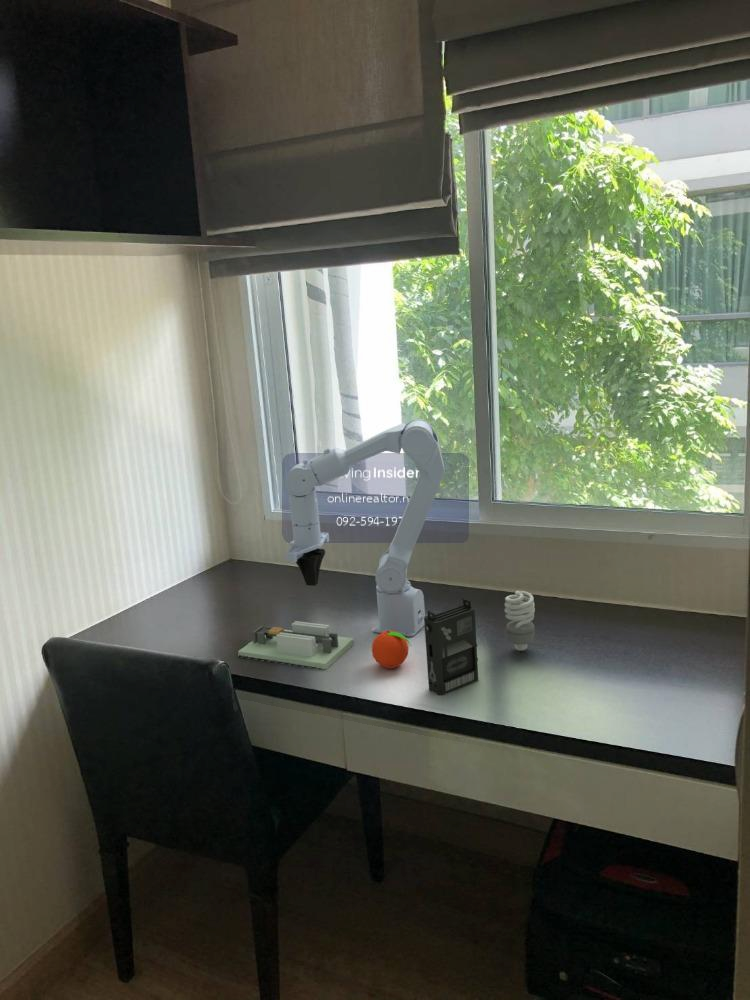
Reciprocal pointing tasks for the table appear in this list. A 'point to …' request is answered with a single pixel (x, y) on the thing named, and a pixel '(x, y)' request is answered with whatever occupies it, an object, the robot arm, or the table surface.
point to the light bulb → (520, 619)
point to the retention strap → (277, 630)
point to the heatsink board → (298, 645)
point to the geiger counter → (451, 648)
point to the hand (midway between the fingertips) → (312, 584)
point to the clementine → (390, 649)
